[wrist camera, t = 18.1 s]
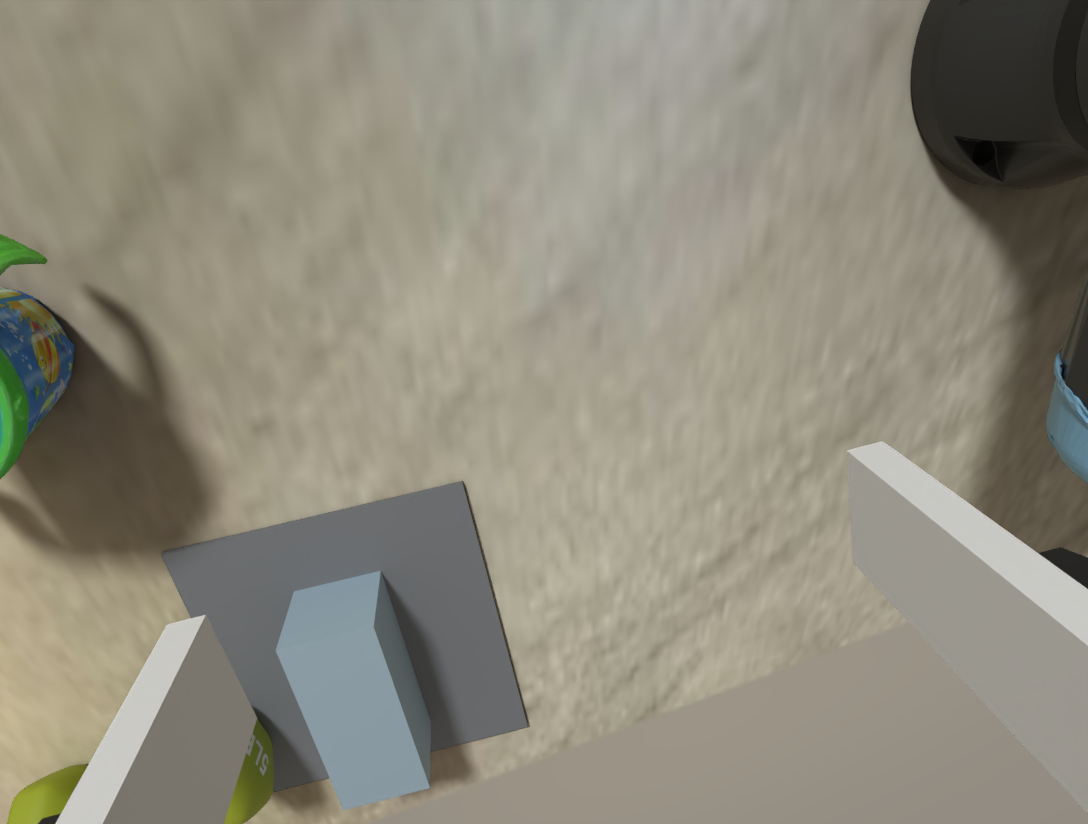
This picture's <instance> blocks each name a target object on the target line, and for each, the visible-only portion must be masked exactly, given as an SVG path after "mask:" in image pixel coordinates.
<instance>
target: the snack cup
mask: <svg viewBox="0 0 1088 824" xmlns="http://www.w3.org/2000/svg"><path fill="white" fill-rule="evenodd" d="M46 262H47V259H46V258H45V257H44V256H43V255H41V254H40V253H38V252H37V251H35V250H32V249H30V248H28V247H26V246H24V245H22V244H20V243H18V242H16V241H14V240H12V239H10V238H8V237H6V236H3V235H1V234H0V275H1V274H2V273H3V272H4V271H5V270H6V269H7V268H9V266H11V265H18V264H45V263H46ZM73 361H74V344H73V343H72V342H71V341H70V340H69V339H68V337H67V335H66V333H65V332H64V330H63V328H62V326H61V325H60V323H59V322H58V321H57V320H56V319H55V318H54V316H53V315H52V314H51V313H50V312H49V311H48V310H46V309H45V308H44V306H42V305H41V304H39V303H38V302H37V301H36V300H35V299H34V298H33V297H32V296H29V295H27V294H25V293H23V292H20V291H16V290H11V289H7V288H4V287H0V479H1V478H2V477H3V476H4V475H5V474H6V473H7V472H8V471H9V470H10V468H11V467H12V466H13V465H14V464H15V462H16V460H17V459H18V457H19V455H20V454H21V452H22V449H23V446H24V443H25V441H26V439H27V438H28V437H29V436H30V434H31V433H32V432H33V431H34V430H35V428H36V427H37V426H38V425H39V424H40V422H41V421H42V420H43V419H44V417H45V416H46V415H47V414H48V412H49V411H50V410H51V409H52V407H53V406H54V405H55V404H56V402H57V401H58V400H59V398H60V397H61V395H62V394H63V393H64V391H65V390H66V388H67V386H68V384H69V381H70V378H71V373H72V366H73Z"/></svg>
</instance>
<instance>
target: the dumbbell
mask: <svg viewBox="0 0 1088 824" xmlns="http://www.w3.org/2000/svg"><path fill="white" fill-rule="evenodd" d="M86 768H87V765H74V766H71V767H68V768H64V769H62V770H59V771H57V772H54V773H52V774H50V775H48V776H46V777H44V778H42V779H40V780H38V781H36V782H34V783H32V784H30V785H29V786H27V787H26V788H24V789H23V790H21V791H20V792H19V793H18V794H17V796H16V797H15V798H14V800H13V802H12V805H11V809H10V812H9V817H8V822H7V824H38V823H39V822H40V821H41V820H42V818H46V817H49V816H53V815H57V814H61V813H62V811H63V809H64V807H65V806H66V804H67V802H68V800H69V799H70V797H71V795H72V793H73V791H74V790H75V788H76V786H77V784H78V782H79V781H80V779H81V777H82V775H83V774H84V772H85V770H86ZM273 787H274V764H273V748H272V743H271V739H270V737H269V735H268V733H267V731H266V730H265V729H264V727H263V726H262V724H261V723H260V722H259V720H258V719H257V721H256V724H255V727H254V730H253V733H252V736H251V739H250V742H249V746H248V749H247V752H246V755H245V758H244V761H243V764H242V767H241V771H240V774H239V777H238V780H237V783H236V786H235V789H234V792H233V796H232V799H231V802H230V805H229V808H228V811H227V814H226V817H225V821H224V824H243V823H245V822H246V821H248V820H249V819H251V818H252V817H253V816H254V815H255V814H256V813H257V812H258V811H259V810H260V809H261V808H262V807H264V805H265V804H266V803H267V802H268V801H269V799H270V797H271V795H272V792H273Z"/></svg>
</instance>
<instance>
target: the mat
mask: <svg viewBox="0 0 1088 824" xmlns="http://www.w3.org/2000/svg"><path fill="white" fill-rule="evenodd" d="M161 556H162V558H163V560H164V562H165V565H166V567H167V569H168V571H169V573H170V575H171V577H172V579H173V581H174V583H175V585H176V588H177V590H178V592H179V594H180V596H181V598H182V600H183V602H184V604H185V606H186V609H187V611H188V613H189V615H190V617H191V618H195V617H199V616H202V615H206V616H207V618H208V620H209V622H210V624H211V626H212V628H213V630H214V632H215V634H216V636H217V638H218V640H219V642H220V644H221V646H222V648H223V650H224V652H225V654H226V656H227V658H228V660H229V662H230V664H231V666H232V668H233V670H234V672H235V674H236V676H237V678H238V680H239V682H240V684H241V686H242V688H243V690H244V692H245V694H246V696H247V698H248V700H249V702H250V704H251V706H252V708H253V710H254V712H255V714H256V717H257V719H258V720H259V722H260V723H261V724H262V726H263V727H264V729H265V730H266V731H267V733H268V735H269V737H270V739H271V743H272V748H273V764H274V787H273V791H274V792H276V791H280V790H284V789H288V788H291V787H295V786H299V785H303V784H307V783H311V782H315V781H319V780H323V779H327V778H329V775H328V773H327V771H326V768H325V766H324V764H323V761H322V759H321V757H320V754H319V752H318V749H317V747H316V745H315V742H314V740H313V738H312V735H311V733H310V731H309V728H308V726H307V723H306V721H305V719H304V716H303V714H302V712H301V709H300V707H299V705H298V702H297V700H296V697H295V695H294V693H293V690H292V688H291V686H290V683H289V681H288V679H287V676H286V674H285V672H284V669H283V667H282V664H281V662H280V660H279V657H278V655H277V653H276V648H277V645H278V641H279V638H280V635H281V632H282V628H283V625H284V622H285V619H286V616H287V612H288V609H289V606H290V603H291V599H292V596H293V593H294V591H298V590H302V589H306V588H311V587H315V586H319V585H323V584H327V583H332V582H336V581H340V580H344V579H348V578H353V577H357V576H361V575H365V574H369V573H374V572H378V571H381V573H382V576H383V579H384V582H385V585H386V588H387V591H388V594H389V597H390V600H391V603H392V606H393V609H394V612H395V615H396V618H397V621H398V624H399V627H400V630H401V633H402V636H403V639H404V642H405V645H406V648H407V651H408V654H409V657H410V660H411V663H412V666H413V669H414V672H415V675H416V678H417V681H418V684H419V687H420V690H421V693H422V696H423V699H424V702H425V705H426V708H427V711H428V714H429V717H430V720H431V749H430V752H432V751H436V750H440V749H444V748H447V747H451V746H455V745H459V744H463V743H467V742H471V741H475V740H479V739H483V738H486V737H490V736H494V735H498V734H502V733H506V732H510V731H514V730H518V729H522V728H525V727H528V724H527V720H526V716H525V712H524V709H523V705H522V701H521V697H520V694H519V690H518V686H517V682H516V679H515V675H514V671H513V667H512V664H511V660H510V656H509V653H508V649H507V645H506V641H505V638H504V634H503V630H502V626H501V623H500V619H499V615H498V611H497V608H496V604H495V600H494V597H493V593H492V589H491V585H490V582H489V578H488V574H487V570H486V567H485V563H484V559H483V555H482V552H481V548H480V544H479V541H478V537H477V533H476V529H475V526H474V522H473V518H472V514H471V511H470V507H469V503H468V499H467V496H466V492H465V488H464V485H463V481H461V482H457V483H452V484H448V485H444V486H440V487H435V488H431V489H427V490H423V491H419V492H414V493H410V494H406V495H402V496H397V497H393V498H389V499H385V500H380V501H376V502H372V503H368V504H363V505H359V506H355V507H351V508H347V509H342V510H338V511H334V512H330V513H325V514H321V515H317V516H313V517H308V518H304V519H300V520H296V521H291V522H287V523H283V524H279V525H275V526H270V527H266V528H262V529H258V530H253V531H249V532H245V533H241V534H236V535H232V536H228V537H224V538H219V539H215V540H211V541H207V542H203V543H198V544H194V545H190V546H186V547H181V548H177V549H173V550H169V551H164V552H163V553H162V554H161Z"/></svg>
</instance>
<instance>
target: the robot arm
mask: <svg viewBox="0 0 1088 824" xmlns="http://www.w3.org/2000/svg"><path fill="white" fill-rule="evenodd" d="M911 86H912V100H913V106H914V111H915V115H916V119H917V122H918V125H919V128H920V131H921V133H922V135H923V137H924V139H925V141H926V143H927V145H928V146H929V148H930V150H931V151H932V152H933V154H934V155H935V156H936V157H937V159H938V160H939V161H940V162H941V163H942V164H943V165H944V166H945V167H947V168H948V169H949V170H950V171H952V172H953V173H955V174H956V175H958V176H960V177H962V178H964V179H966V180H968V181H971V182H974V183H977V184H981V185H986V186H994V187H1003V188H1014V189H1030V188H1040V187H1046V186H1051V185H1055V184H1058V183H1062V182H1065V181H1068V180H1071V179H1075V178H1078V177H1081V176H1085V175H1088V0H930V2H929V5H928V7H927V9H926V12H925V14H924V17H923V20H922V22H921V25H920V29H919V32H918V35H917V39H916V44H915V49H914V54H913V62H912V75H911ZM1054 376H1055V382H1054V387H1053V391H1052V395H1051V399H1050V404H1049V408H1048V412H1047V417H1046V430H1047V434H1048V438H1049V440H1050V442H1051V443H1052V445H1053V447H1054V448H1055V450H1056V451H1057V452H1058V456H1059V457H1060V459H1061V460H1062V461H1063V462H1064V464H1065V465H1067V466H1068V468H1069V469H1070V470H1071V471H1073V472H1074V473H1075V474H1076V475H1077V476H1078V477H1079V478H1081V479H1082V480H1083V481H1085V482H1086V483H1087V484H1088V267H1087V270H1086V274H1085V277H1084V280H1083V283H1082V287H1081V290H1080V293H1079V296H1078V299H1077V303H1076V306H1075V309H1074V312H1073V316H1072V319H1071V322H1070V325H1069V329H1068V332H1067V335H1066V338H1065V341H1064V345H1063V348H1062V349H1061V351H1060V352H1059V353H1058V354H1057V355H1056V358H1055V362H1054ZM847 468H848V486H849V504H850V522H851V540H852V558H853V563H854V564H855V565H856V566H857V567H858V568H859V569H860V570H861V572H862V573H863V574H864V575H865V576H866V577H867V578H868V579H869V580H870V581H871V582H872V583H873V584H874V585H875V587H876V588H877V589H878V590H879V591H880V592H881V593H882V594H883V595H884V596H885V597H886V598H887V599H888V600H889V602H890V603H891V604H892V605H893V606H894V607H895V608H896V609H897V610H898V611H899V612H900V613H901V614H902V615H903V617H904V618H905V619H906V620H907V621H908V622H909V623H910V624H911V625H912V626H913V627H914V628H915V629H916V630H917V632H918V633H919V634H920V635H921V636H922V637H923V638H924V639H925V640H926V641H927V642H928V643H929V644H930V645H931V647H932V648H933V649H934V650H935V651H936V652H937V653H938V654H939V655H940V656H941V657H942V658H943V659H944V661H946V662H947V664H948V665H949V666H950V667H951V668H952V669H953V670H954V671H955V672H956V673H957V674H958V675H959V676H960V678H962V680H963V681H964V682H965V683H966V684H967V685H968V686H969V687H970V688H971V689H972V691H973V692H974V693H975V694H976V695H977V696H978V697H979V698H980V699H981V700H982V701H983V702H984V703H985V704H986V705H987V706H988V708H989V709H990V710H991V711H992V712H993V713H994V714H995V715H996V716H997V717H998V718H999V719H1000V720H1001V722H1002V723H1003V724H1004V725H1005V726H1006V727H1007V728H1008V729H1009V730H1010V731H1011V732H1012V733H1013V734H1014V736H1016V738H1017V739H1018V740H1019V741H1020V742H1021V743H1022V744H1023V745H1024V746H1025V747H1026V748H1027V749H1028V751H1029V752H1030V753H1031V754H1032V755H1033V756H1034V757H1035V758H1036V759H1037V760H1038V761H1039V762H1040V763H1041V764H1042V766H1043V767H1044V768H1045V769H1046V770H1047V771H1048V772H1049V773H1050V774H1051V775H1052V776H1053V777H1054V778H1055V779H1056V781H1058V782H1059V784H1060V785H1061V786H1062V787H1063V788H1064V789H1065V790H1066V791H1067V792H1068V793H1069V794H1070V795H1071V796H1072V798H1073V799H1074V800H1075V801H1076V802H1077V803H1078V804H1079V805H1080V806H1081V807H1082V808H1083V809H1084V811H1085V812H1086V813H1087V814H1088V558H1087V557H1084V556H1082V555H1079V554H1076V553H1074V552H1071V551H1068V550H1066V549H1063V548H1061V547H1060V548H1056V549H1053V550H1049V551H1045V552H1041V553H1037V552H1036V551H1034V550H1033V549H1031V548H1030V547H1029V546H1027V545H1026V544H1024V543H1023V542H1022V541H1020V540H1019V539H1018V538H1016V537H1015V536H1013V535H1012V534H1011V533H1009V532H1008V531H1006V530H1005V529H1004V528H1002V527H1001V526H1000V525H998V524H997V523H995V522H994V521H993V520H991V519H990V518H988V517H987V516H986V515H984V514H983V513H981V512H980V511H979V510H977V509H976V508H975V507H973V506H972V505H970V504H969V503H968V502H966V501H965V500H963V499H962V498H961V497H959V496H958V495H957V494H955V493H954V492H952V491H951V490H950V489H948V488H947V487H945V486H944V485H943V484H941V483H940V482H938V481H937V480H936V479H934V478H933V477H932V476H930V475H929V474H927V473H926V472H925V471H923V470H922V469H920V468H919V467H918V466H916V465H915V464H914V463H912V462H911V461H909V460H908V459H907V458H905V457H904V456H902V455H901V454H900V453H898V452H897V451H895V450H894V449H893V448H891V447H890V446H889V445H887V444H886V443H884V442H883V441H882V442H878V443H874V444H870V445H866V446H862V447H858V448H854V449H851V450H847ZM256 721H257V717H256V714H255V712H254V710H253V708H252V706H251V704H250V702H249V700H248V698H247V696H246V694H245V692H244V690H243V688H242V686H241V684H240V682H239V680H238V678H237V676H236V674H235V672H234V670H233V668H232V666H231V664H230V662H229V660H228V658H227V656H226V654H225V652H224V650H223V648H222V646H221V644H220V642H219V640H218V638H217V636H216V634H215V632H214V630H213V628H212V626H211V624H210V622H209V620H208V618H207V616H206V615H202V616H199V617H195V618H191V619H187V620H183V621H179V622H175V623H171V624H167V626H166V628H165V629H164V631H163V633H162V635H161V636H160V638H159V640H158V642H157V644H156V645H155V647H154V649H153V651H152V652H151V654H150V656H149V658H148V660H147V661H146V663H145V665H144V667H143V668H142V670H141V672H140V674H139V676H138V677H137V679H136V681H135V683H134V685H133V686H132V688H131V690H130V692H129V693H128V695H127V697H126V699H125V701H124V702H123V704H122V706H121V708H120V709H119V711H118V713H117V715H116V717H115V718H114V720H113V722H112V724H111V725H110V727H109V729H108V731H107V733H106V734H105V736H104V738H103V740H102V742H101V743H100V745H99V747H98V749H97V750H96V752H95V754H94V756H93V758H92V759H91V761H90V763H89V765H88V766H87V768H86V770H85V772H84V774H83V775H82V777H81V779H80V781H79V782H78V784H77V786H76V788H75V790H74V791H73V793H72V795H71V797H70V799H69V800H68V802H67V804H66V806H65V807H64V809H63V811H62V813H61V814H57V815H53V816H49V817H46V818H42V820H41V821H40V822H39V823H38V824H224V821H225V817H226V814H227V811H228V808H229V805H230V802H231V799H232V796H233V792H234V789H235V786H236V783H237V780H238V777H239V774H240V771H241V767H242V764H243V761H244V758H245V755H246V752H247V749H248V746H249V742H250V739H251V736H252V733H253V730H254V727H255V724H256Z"/></svg>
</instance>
